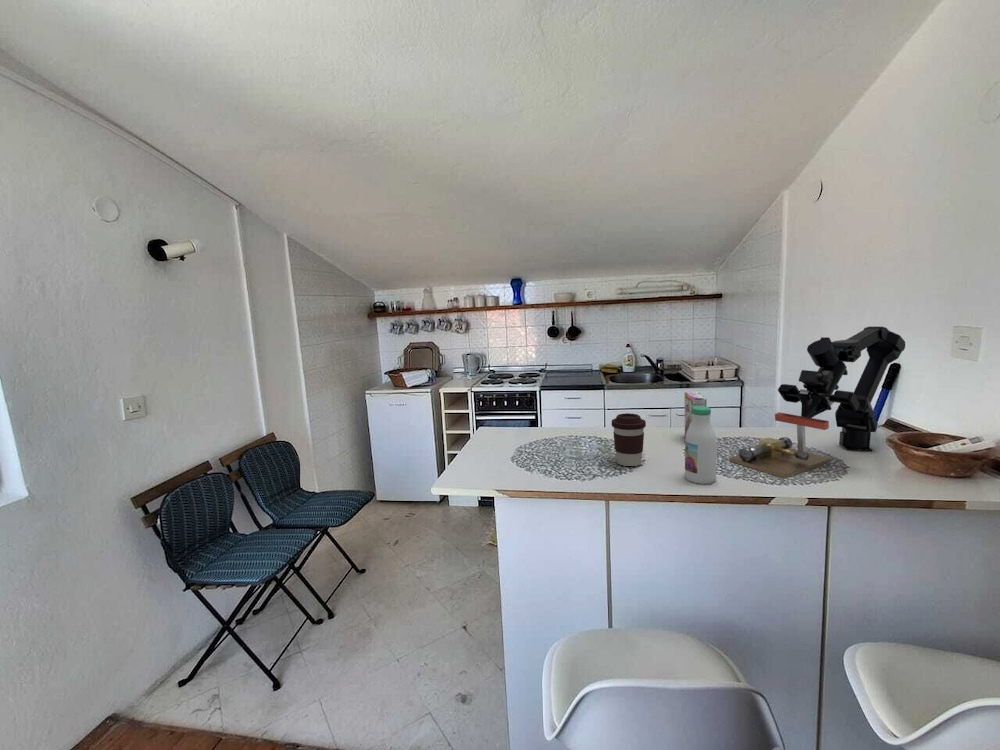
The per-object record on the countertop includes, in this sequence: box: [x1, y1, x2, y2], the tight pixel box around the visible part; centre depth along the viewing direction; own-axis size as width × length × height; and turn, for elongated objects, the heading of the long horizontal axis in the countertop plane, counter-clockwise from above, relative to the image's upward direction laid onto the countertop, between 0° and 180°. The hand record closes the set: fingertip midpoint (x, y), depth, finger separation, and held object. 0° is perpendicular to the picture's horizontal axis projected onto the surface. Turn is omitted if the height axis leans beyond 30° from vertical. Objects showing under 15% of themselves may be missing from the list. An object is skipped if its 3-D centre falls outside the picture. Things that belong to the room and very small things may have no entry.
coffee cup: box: [611, 412, 647, 467], centre depth 129 cm, size 10×10×15 cm
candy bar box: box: [684, 391, 707, 438], centre depth 147 cm, size 11×5×16 cm, turn 168°
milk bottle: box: [684, 406, 718, 485], centre depth 114 cm, size 8×8×20 cm
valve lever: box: [774, 411, 830, 460], centre depth 119 cm, size 2×13×13 cm, turn 26°
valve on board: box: [728, 436, 832, 479], centre depth 124 cm, size 22×16×5 cm
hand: (803, 420), depth 119 cm, fingers closed, pressing on valve lever
